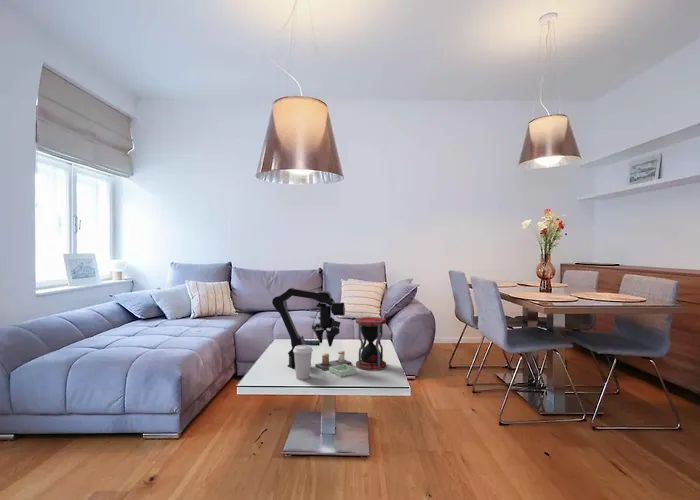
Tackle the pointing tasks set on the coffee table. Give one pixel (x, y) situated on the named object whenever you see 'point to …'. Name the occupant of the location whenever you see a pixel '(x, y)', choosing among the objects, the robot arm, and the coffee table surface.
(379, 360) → the hourglass
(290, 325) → the robot arm
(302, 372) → the coffee cup
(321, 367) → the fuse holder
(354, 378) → the coffee table surface
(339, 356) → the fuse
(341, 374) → the parts tray
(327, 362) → the fuse
